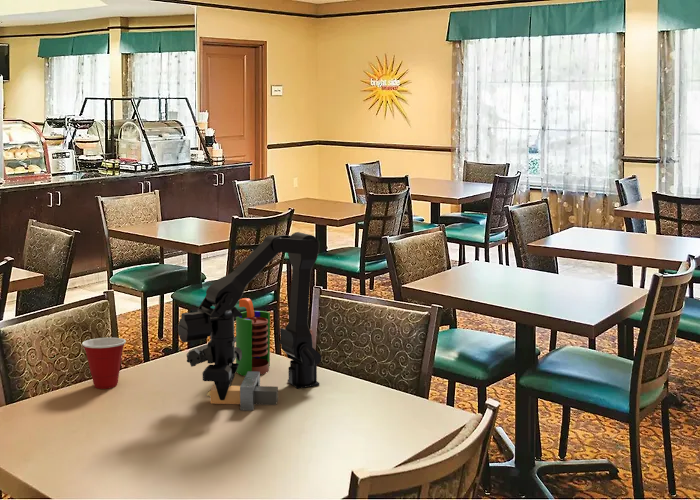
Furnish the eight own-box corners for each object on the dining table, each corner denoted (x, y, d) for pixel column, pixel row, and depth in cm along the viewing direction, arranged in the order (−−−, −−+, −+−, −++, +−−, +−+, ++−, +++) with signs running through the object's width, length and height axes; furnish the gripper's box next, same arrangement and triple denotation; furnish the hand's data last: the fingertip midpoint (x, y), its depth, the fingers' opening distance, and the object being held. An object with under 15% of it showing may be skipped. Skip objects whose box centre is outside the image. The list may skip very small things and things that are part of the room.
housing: (260, 393, 198) (259, 371, 197) (253, 410, 187) (252, 387, 186) (248, 393, 198) (247, 371, 197) (240, 410, 187) (240, 387, 186)
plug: (278, 399, 194) (277, 386, 193) (276, 404, 190) (276, 391, 190) (209, 398, 194) (209, 385, 194) (206, 403, 191) (206, 390, 190)
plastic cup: (131, 377, 209) (129, 334, 207) (123, 391, 198) (121, 346, 196) (89, 378, 208) (87, 334, 206) (79, 392, 197) (77, 346, 195)
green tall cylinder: (262, 377, 210) (261, 304, 206) (230, 375, 211) (229, 303, 208) (273, 366, 220) (273, 296, 216) (243, 363, 221) (242, 294, 218)
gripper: (197, 324, 199) (199, 383, 202) (179, 346, 181) (181, 410, 183) (241, 325, 199) (242, 384, 201) (227, 347, 180) (229, 411, 183)
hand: (223, 397), depth 192 cm, fingers closed on plug, 3 cm apart
